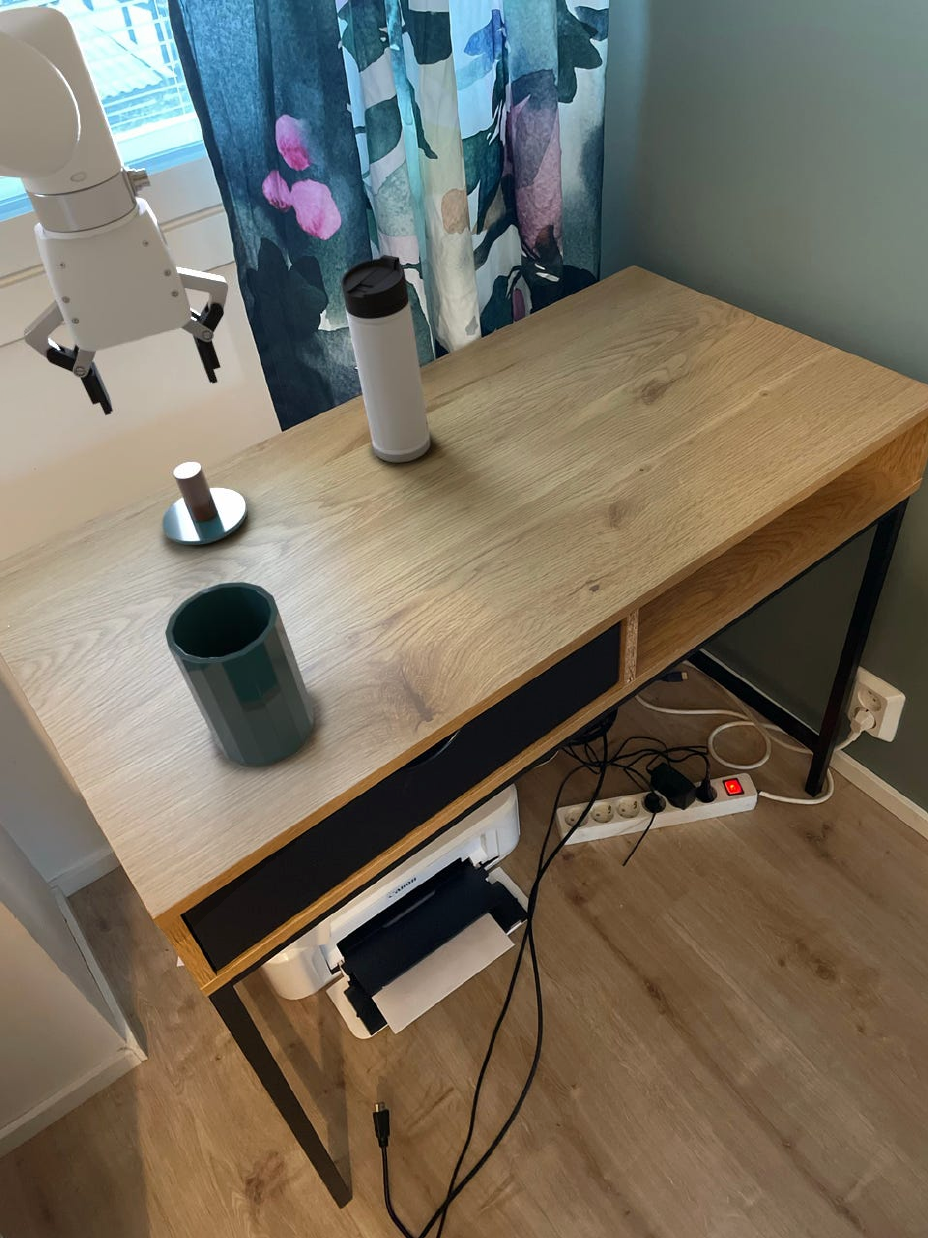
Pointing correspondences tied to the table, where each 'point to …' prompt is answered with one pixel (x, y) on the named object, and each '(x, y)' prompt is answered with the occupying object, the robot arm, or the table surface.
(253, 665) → the pot
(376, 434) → the travel mug
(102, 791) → the table surface
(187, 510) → the lid
